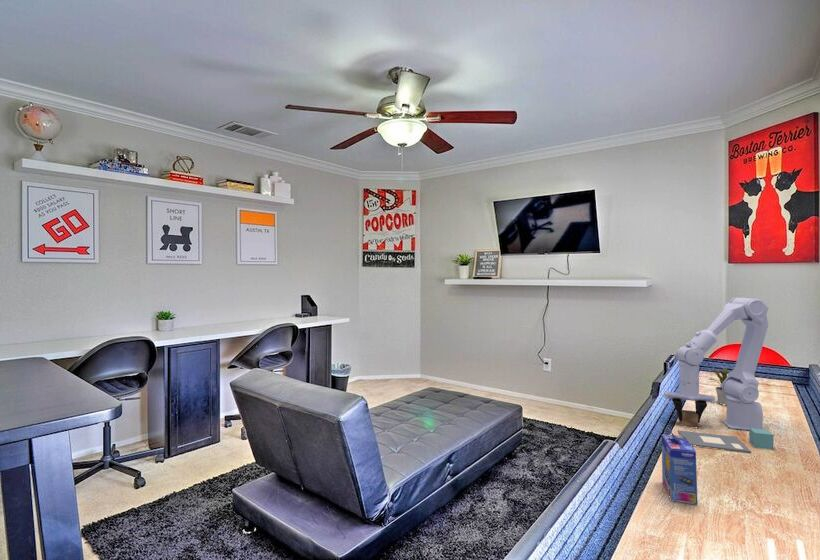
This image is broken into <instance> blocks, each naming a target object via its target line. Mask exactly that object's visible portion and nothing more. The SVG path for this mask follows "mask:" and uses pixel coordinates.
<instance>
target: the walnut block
mask: <svg viewBox="0 0 820 560" xmlns="http://www.w3.org/2000/svg"><path fill="white" fill-rule="evenodd" d="M679 423H681V424H682V425H681V424H680V425H681V427H683V426H687V427H686V428H691V427H697V428H696V429H699V423H698V414H697V413H696V410H687V409H686V410H684V409H682V421H679Z"/></svg>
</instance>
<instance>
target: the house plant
mask: <svg viewBox="0 0 820 560" xmlns="http://www.w3.org/2000/svg"><path fill="white" fill-rule="evenodd" d="M728 365H729V364H726V366H725V368H724V367H722V369H723V370H721V368H718V366H716V365H715V367H714V366H712V367H708V366H707V368H708V369H709V370H710V369H711V370H712V371H713V372H714V373H715V374H716V377H717V378H718V379H719V381H718V380H716V379H714V378H713V377H712V378H709V379H708V381H709V382H710V383H711V382H714V383H718V384H719V385H720V386H716V387H715V390H716V397H717V401H718V402H719V403H721V404H725V405H727V397H726V394H725V393H724V392H723V390H722V383H723V381H724V380H725V379H726V378H727V376H728ZM703 367H705V368H706V366H703ZM716 367H717V368H718V369H719V370H717V368H716ZM734 369H735V367H734V368H732V369H731V370H730V371H729V373H730V372H732V371H733V370H734ZM718 402H717V403H718ZM719 403H718V404H719Z"/></svg>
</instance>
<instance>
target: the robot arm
mask: <svg viewBox="0 0 820 560" xmlns="http://www.w3.org/2000/svg"><path fill="white" fill-rule="evenodd" d="M768 310H769V307H768V305H767V304H766V303H765V302H764V301H763V300H762V299H760V298H756V297H755V298H754V297H753V298H750V297H749V298H748V297H740V296H734V297H733V298H731V299H730V300H729V302H727V303H726V304H725V305H724V308H723V310H722V311H721V312H720V313H719V315H718V316H717V317H716V318H715V319H714V320H713V322H711V324H710V325H709V326H708V327H707V329H701V330H699V331H696V332H695V333H694V334H695V335H694V336H693V337H692V338H691V340H690V341H687V342H686V343H685V345H684V346H681V347H679V349H678V350H677V352H676V353H675V358H676V359H677V360H678V365H679V367H678V368H679V369H678V370H679V372H678V374H679V375H678V381H679V382H678V389H679V390H678V391H664V393H663V396H664V397H663V398H664V399H666V400H669V399H670V400H671V401H672V403H673V405H674V408H675V409H676V410H675V411H676V413H677V419H678V421H679V422H680V421H682V410H683V405H684V404H683V402H682V400H683V401H684V400H685V401H692V402H694V404H695V405H694V406H695V412H696V413H697V414H698V424H699V423H701V422H700V421H701V419H702V418H701V417H702V414H703V413H704V411H705V410H706V408H707V406H708V403H711V404H715V403H716V402H715V400H716V399H715V396H713V395H707V394H701V393H700V381H699V380H700V364H701V363H702V362H703V361H704V358H705V357H704V356H705V354H706V353H707V352H708V351H709V350H710V349H711V348H712V347H713V346H714V345H715V344H716V343H717V342H718V340H717V336H718V335H719V334H721V333H722V332H723V331H724V330H725V329H727V327H729V325H731V324H732V323H733V322H734V321H738V320H741V321H742V323H743V324H744V325H745V331H744V335H743V338H742V341H741V346H740V348H739V352H738V355H737V359H736V362H735V366H734V368H735V369H734V368H733V370H732V371H731V372H730V371H729V372H730V373H728V372H727V378H726V379H725V380H724V381H723V383H722V384H721V385H722V390H723V392H724V393H725V394H726V397H727V406H726V419H722V420H721V421H722V423H724V424H725V425H726V427H728V429H735V430H745V431H749V428H755V429H764V428H763V422H764V417H763V416H764V415H763V414H764V412H763V411H764V410H763V407H762V404H761V403H760V402H758V401H757V399H758V398H759V396H760V395H759V394H760V393H759V392H760V391H759V384H760V383H759V381H758V379H757V378H756V376H755V373H756V370H757V366H758V362H759V360H760V355H761V353H762V349H763V346H764V345H763V344H764V342H765V339H766V335H767V332H768V331H767V330H768V327H769V321H768V316H767V314H768Z"/></svg>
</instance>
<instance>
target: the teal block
mask: <svg viewBox="0 0 820 560" xmlns="http://www.w3.org/2000/svg"><path fill="white" fill-rule="evenodd" d="M748 431H749V432H748V443H750V445H751V446H753V448H757V449H764V450H765V449H766V450H772V451H773V450H774V437H775V436H774V434H773V433H772V432H771V431H769V430H768V429H764V428H763V429H755V428H749V430H748Z"/></svg>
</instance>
